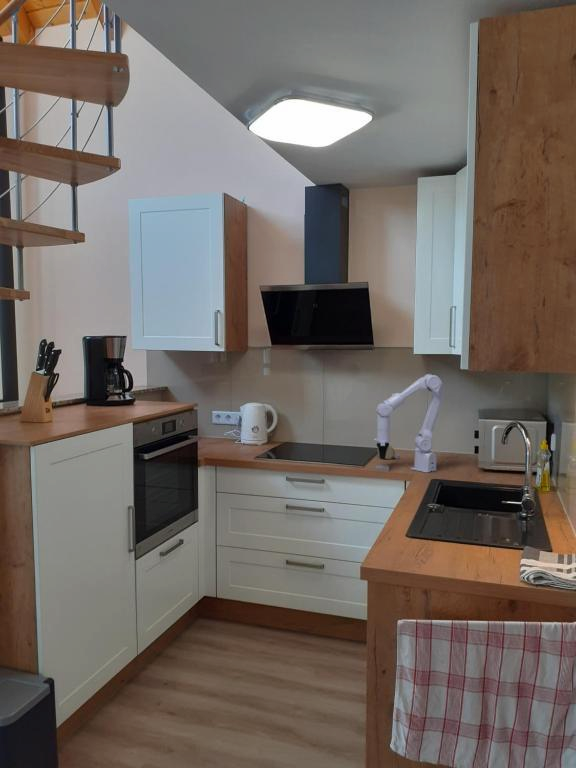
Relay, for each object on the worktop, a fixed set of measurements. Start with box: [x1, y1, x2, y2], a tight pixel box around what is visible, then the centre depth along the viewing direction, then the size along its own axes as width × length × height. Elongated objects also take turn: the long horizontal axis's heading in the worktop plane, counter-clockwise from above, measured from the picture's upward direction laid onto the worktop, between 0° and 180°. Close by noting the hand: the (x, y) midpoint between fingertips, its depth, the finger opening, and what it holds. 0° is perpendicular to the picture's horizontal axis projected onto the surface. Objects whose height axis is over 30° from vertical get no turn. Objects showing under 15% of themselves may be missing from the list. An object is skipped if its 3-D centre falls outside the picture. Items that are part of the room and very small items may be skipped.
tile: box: [375, 465, 390, 473], centre depth 276 cm, size 2×6×6 cm
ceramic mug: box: [377, 442, 401, 460], centre depth 304 cm, size 11×8×8 cm
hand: (382, 458), depth 277 cm, fingers closed
